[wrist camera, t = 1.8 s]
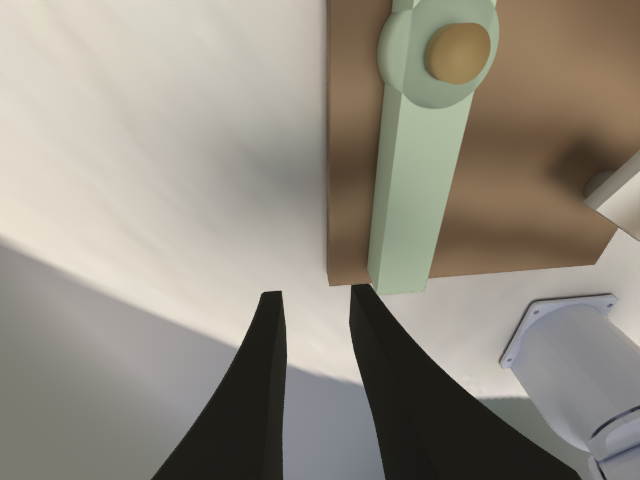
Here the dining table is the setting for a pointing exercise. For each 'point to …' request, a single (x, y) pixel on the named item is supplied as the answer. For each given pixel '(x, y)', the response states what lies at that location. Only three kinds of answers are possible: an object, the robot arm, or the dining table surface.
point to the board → (499, 135)
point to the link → (418, 139)
